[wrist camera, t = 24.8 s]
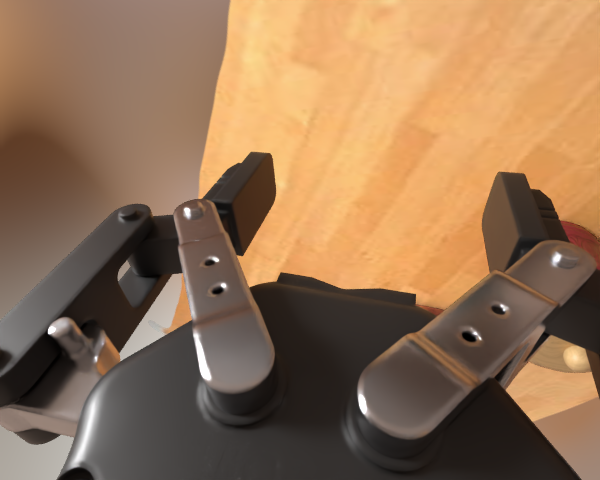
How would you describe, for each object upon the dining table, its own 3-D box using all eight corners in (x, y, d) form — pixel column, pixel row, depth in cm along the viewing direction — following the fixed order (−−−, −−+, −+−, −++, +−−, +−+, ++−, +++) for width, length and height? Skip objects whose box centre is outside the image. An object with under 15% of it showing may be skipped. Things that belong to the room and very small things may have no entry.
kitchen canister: (469, 269, 54) (484, 375, 41) (527, 203, 45) (570, 312, 32) (551, 299, 54) (593, 416, 41) (626, 239, 45) (709, 363, 32)
